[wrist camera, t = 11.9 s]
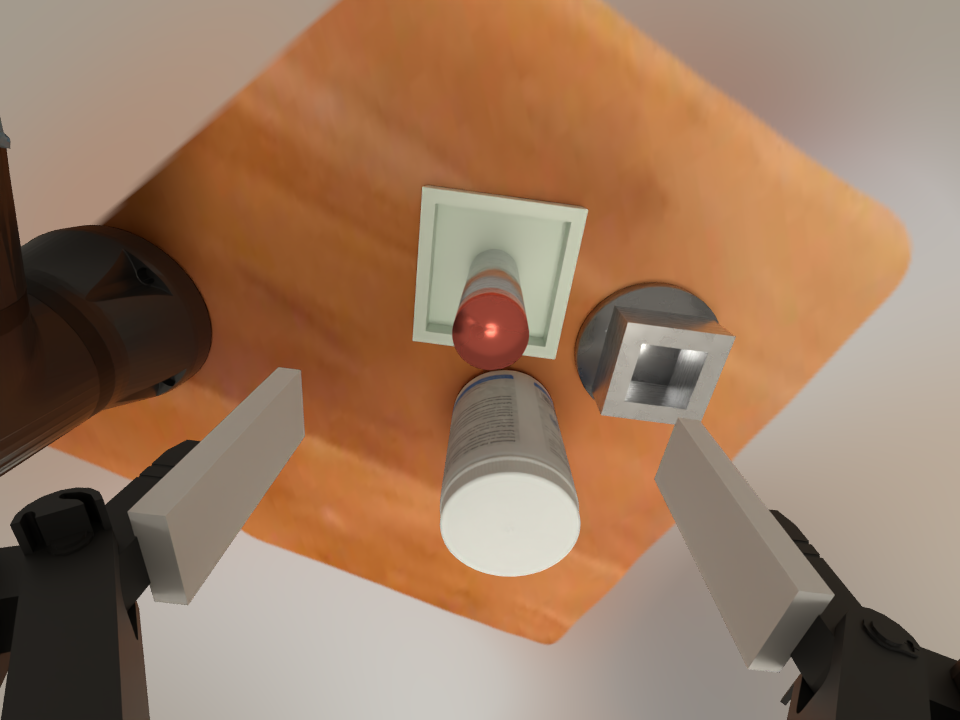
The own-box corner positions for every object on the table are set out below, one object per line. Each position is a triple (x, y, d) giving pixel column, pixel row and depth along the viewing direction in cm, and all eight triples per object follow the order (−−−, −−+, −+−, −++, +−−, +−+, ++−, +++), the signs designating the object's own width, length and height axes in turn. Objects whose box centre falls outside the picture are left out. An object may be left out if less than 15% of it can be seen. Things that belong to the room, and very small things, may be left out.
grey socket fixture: (562, 398, 40) (571, 432, 35) (592, 273, 35) (607, 292, 30) (687, 414, 41) (713, 450, 36) (735, 292, 36) (773, 314, 31)
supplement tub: (444, 437, 43) (420, 563, 30) (467, 354, 39) (451, 456, 26) (537, 460, 44) (555, 592, 30) (569, 380, 40) (605, 492, 26)
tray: (417, 330, 38) (412, 340, 36) (427, 184, 33) (422, 186, 31) (551, 347, 38) (554, 359, 36) (582, 206, 33) (588, 209, 31)
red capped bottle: (466, 294, 36) (448, 364, 23) (472, 245, 34) (456, 292, 21) (514, 300, 36) (522, 374, 23) (521, 252, 34) (535, 303, 21)
